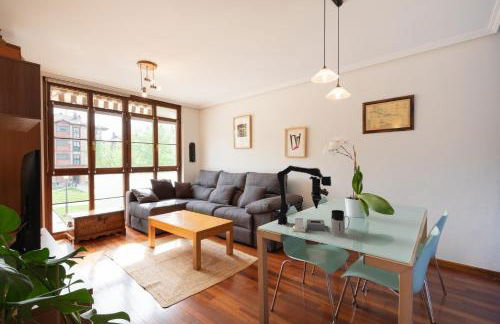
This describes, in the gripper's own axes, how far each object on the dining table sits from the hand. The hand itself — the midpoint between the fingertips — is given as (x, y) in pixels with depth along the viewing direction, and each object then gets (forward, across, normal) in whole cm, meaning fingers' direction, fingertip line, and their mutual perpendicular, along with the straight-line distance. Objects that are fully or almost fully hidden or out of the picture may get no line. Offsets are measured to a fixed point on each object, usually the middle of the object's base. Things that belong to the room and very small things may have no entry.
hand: (316, 207), depth 169 cm
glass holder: (+14, -19, -14) cm, 27 cm away
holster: (+14, -12, +12) cm, 22 cm away
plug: (+14, -12, +12) cm, 22 cm away
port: (+14, -4, +1) cm, 14 cm away
